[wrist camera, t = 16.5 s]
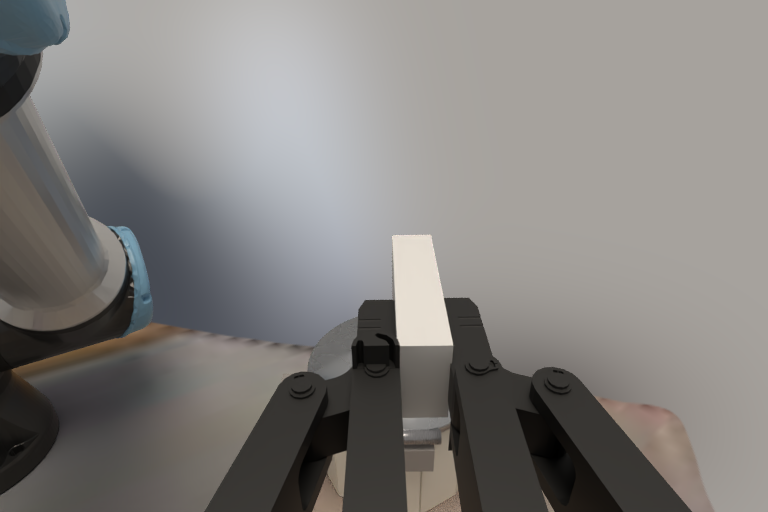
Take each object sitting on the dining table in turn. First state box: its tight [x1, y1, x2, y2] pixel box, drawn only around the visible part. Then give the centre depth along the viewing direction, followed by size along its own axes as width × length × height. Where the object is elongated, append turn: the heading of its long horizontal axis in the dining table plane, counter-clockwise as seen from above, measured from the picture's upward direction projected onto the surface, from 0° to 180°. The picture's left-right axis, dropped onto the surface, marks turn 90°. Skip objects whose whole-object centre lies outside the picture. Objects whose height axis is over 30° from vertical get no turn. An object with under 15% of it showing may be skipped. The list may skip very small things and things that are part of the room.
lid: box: [308, 317, 451, 445], centre depth 46 cm, size 18×17×2 cm
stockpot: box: [281, 374, 458, 512], centre depth 49 cm, size 17×23×11 cm
